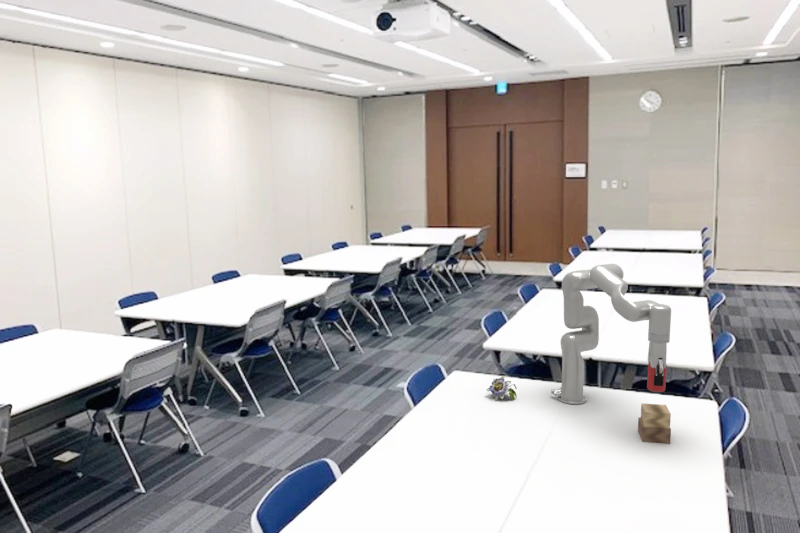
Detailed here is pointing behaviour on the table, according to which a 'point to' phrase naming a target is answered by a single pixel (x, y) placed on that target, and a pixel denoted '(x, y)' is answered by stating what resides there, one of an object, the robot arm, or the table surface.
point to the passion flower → (501, 388)
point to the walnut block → (653, 433)
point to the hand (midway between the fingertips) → (656, 382)
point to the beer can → (651, 380)
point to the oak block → (655, 416)
